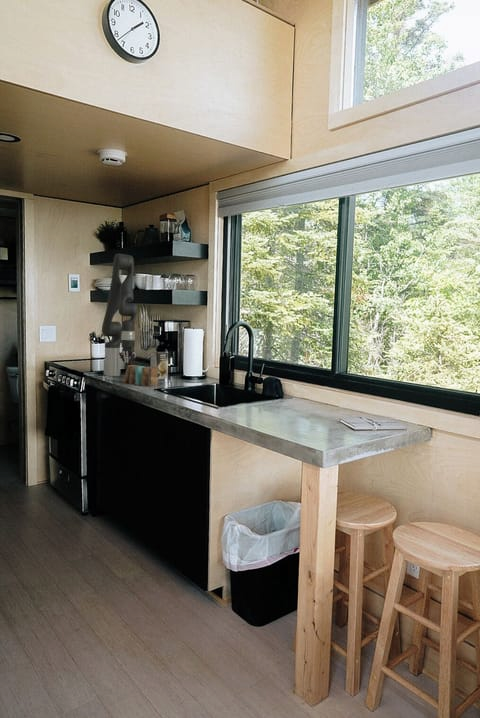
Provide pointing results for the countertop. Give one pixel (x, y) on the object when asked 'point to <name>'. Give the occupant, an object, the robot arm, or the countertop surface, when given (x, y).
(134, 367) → the domino
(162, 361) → the coffee box
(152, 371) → the domino
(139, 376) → the domino
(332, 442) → the countertop surface
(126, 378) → the domino
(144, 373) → the domino
